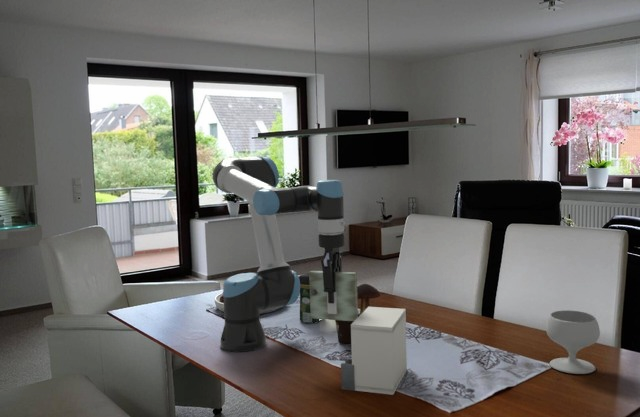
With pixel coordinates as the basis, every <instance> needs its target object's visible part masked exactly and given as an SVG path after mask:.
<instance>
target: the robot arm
mask: <svg viewBox="0 0 640 417" xmlns="http://www.w3.org/2000/svg"><path fill="white" fill-rule="evenodd" d="M276 164H277V163H275V161H274V160H273V159H271V158H270V157H268V156H260V155H259V156H258V155H257V156H245V157H243V156H241V157H228V158H227V157H226V158H225V159H223V160H221V161H219V162H218V163H217V164H216V166H215V167H214V169H213V171H212V180H213V184H214V185H215V187H216V188H217V189H219V191H222V192H223V193H226V194H234V195H236V196H237V197H239V198H240V199H241V198H242V199H243V200H245V201H247V202H248V206H249V211H250V217H251V222H252V228H253V232H254V237H255V238H254V239H255V243H256V244H255V246H256V249H257V250H256V251H257V254H258V261H259V268H258V269H257V271H256V272H257V273H256V272H246V273H245V272H242V273H238V274H234V275H232V276H229V277H228V278H226V279H225V280H224V283H223V285H222V286H223V290H222V293H223V298H224V312H223V313H224V314H223V315H224V324H223V329H222V332H221V336H220V347H221V349H223V350H224V351H227V352H235V353H237V352H240V353H241V352H249V351H255V350H258V349H260V348H262V347H265V345H266V344H267V336H266V334H265V331H264V328H263V326H262V325H263V324H262V322H261V318H260V317H261V314H259V311H262V310H267V309H272V308H278V307H281V308H284V307H287V306H290V305H293V304H295V303H296V302H297V301H298V299H299V297H300V280H299V275H298V273H297V271H295V270H291V265H290V264H289V263H287V262H286V261H285V256H284V252H283V251H284V250H283V247H282V246H283V245H282V241H281V240H282V239H281V237H280V236H281V235H280V229H279V225H278V221H277V216H276V215H281V214H290V213H301V212H303V213H304V212H317V231H318V233H319V235H318V247H320V248H321V249H322V248H324V253H323V258H322V259H321V260H320V262H321V271H323V282H324V292H327V307H328V314H337V292H335V272H343V270H342V268H343V266H342V265H343V261H342V260H343V252H342V251H341V252H340V248H343V247H344V246H345V242H346V241H345V234H344V233H343V232H344V231H345V226H346V222H345V221H344V210H345V209H344V194H345V193H344V191H343V190H344V189H343V182H342V180H340V179H321V180H318V181H317V183H316V185H310V184H308V185H301V186H300V185H299V186H293V187H277V186H278V185H279V182H280V180H279V178H280V175H279V170H278V166H277V165H276Z"/></svg>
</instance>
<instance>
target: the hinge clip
mask: <svg viewBox="0 0 640 417" xmlns="http://www.w3.org/2000/svg"><path fill="white" fill-rule="evenodd" d="M340 377H341V390H344V391H351V392H352V391H355V379H354V365H352V358H347V357H346V358H345V359H344V363H343V362H342V363H341V364H340ZM355 392H356V391H355Z"/></svg>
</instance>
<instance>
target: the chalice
mask: <svg viewBox="0 0 640 417" xmlns="http://www.w3.org/2000/svg"><path fill="white" fill-rule="evenodd" d="M545 327H546V328H545V329H546V334H547V336H548V337H549V339H551V341H553V342H554V343H556V344H558V345H559V346H561V347H563V348H564V349H565V350H566V351H567V353H568V357H559V358H554V359H552V360H551V361H550V362H549V366H550V367H551V368H552V369H555V370H557V371H559V372H562V373H567V374H574V375H586V374H591V373H593V372H595V371H596V368H597V367H596V366H595V365H594V364H593V363H592V362H589V361H587V360H584V359H580V358H577V353H578V352H579V351H580V350H582V349H584V348H587V347H591V346H592V345H594V344H596V343H597V342H598V340H599V338H600V336H601V332H600V331H601V330H600V325H599V321H597V319H596V317H595V315H593V314H591V313H588V312H584V311H578V310H569V309H568V310H557V311H553V312H552V313H550V316H548V319H547V321H546V326H545Z"/></svg>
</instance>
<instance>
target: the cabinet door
mask: <svg viewBox="0 0 640 417" xmlns="http://www.w3.org/2000/svg"><path fill="white" fill-rule="evenodd" d="M308 273H309V283H310V311H311V318H313V319H323V320H329V321H330V320H332V321H335V320H343V321H355V320H356V319H357V318H358V311H359V310H358V306H359V305H358V303H359V302H358V299H357V287H358V276H357V273H358V272H355V271H353V272H351V271H342V272H335V292H337V314H328V307H327V292H324V282H323V270H310V271H309V272H308Z"/></svg>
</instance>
